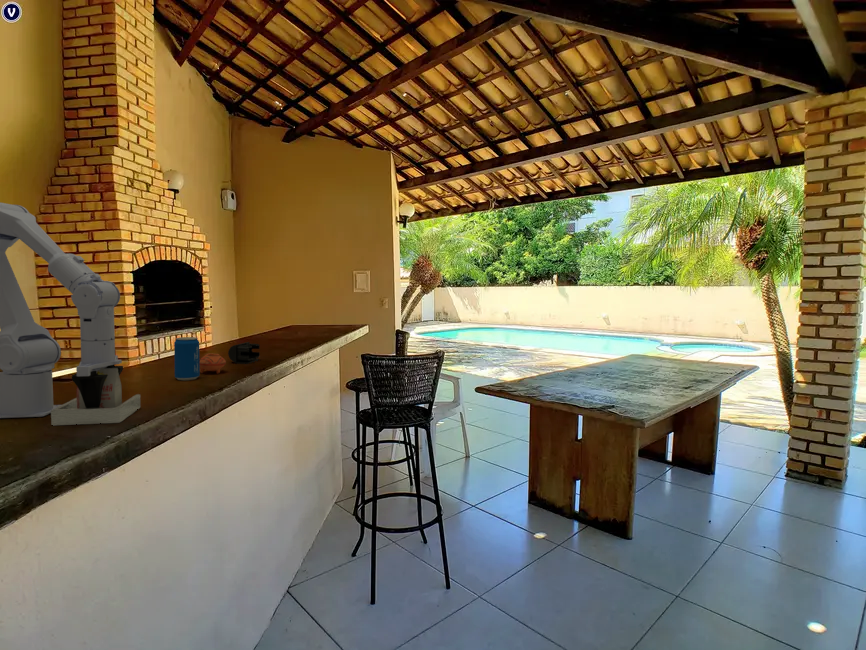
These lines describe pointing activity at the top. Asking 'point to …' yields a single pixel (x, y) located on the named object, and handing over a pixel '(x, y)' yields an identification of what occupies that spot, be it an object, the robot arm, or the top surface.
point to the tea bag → (106, 389)
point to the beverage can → (186, 358)
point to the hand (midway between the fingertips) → (99, 404)
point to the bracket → (93, 413)
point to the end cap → (244, 353)
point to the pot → (212, 362)
